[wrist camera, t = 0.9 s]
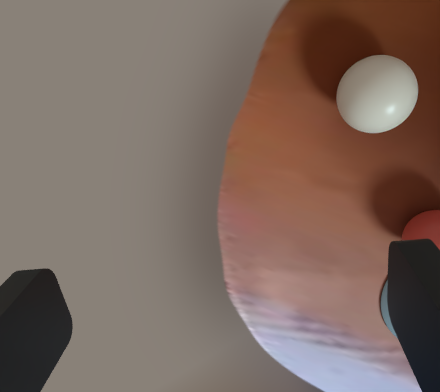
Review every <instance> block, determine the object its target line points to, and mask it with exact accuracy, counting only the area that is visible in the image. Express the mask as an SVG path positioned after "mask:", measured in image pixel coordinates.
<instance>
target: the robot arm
mask: <svg viewBox="0 0 440 392" xmlns="http://www.w3.org/2000/svg"><path fill="white" fill-rule="evenodd" d="M387 304H388V311H389V316H390V320H391V323H392V326H393V329H394V331H395V333H396V335H397V337H398V340H399V342H400V344H401V346H402V348H403V351H404V353H405V355H406V357H407V359H408V362H409V364H410V366H411V368H412V370H413V373H414V375H415V377H416V379H417V381H418V384H419V386H420V388H421V390H422V392H440V250H439V249H438V247H437V246H436V245H435V244H434V242H433V241H432V240H430V239H428V238H427V239H415V240H402V241H392V242H391V243H390V246H389V256H388V286H387ZM71 335H72V318H71V315H70V312H69V310H68V307H67V305H66V302H65V299H64V297H63V294H62V292H61V289H60V287H59V284H58V281H57V279H56V276H55V274H54V273H53V272H52V271H51V270H50V269H34V270H22V271H16V272H14V273H13V274H12V275H11V276H10V277H9V278H8V279H7V280H6V281H5V282H4V283H3V284H2V285H1V286H0V392H40V391H41V390H42V388H43V386H44V384H45V383H46V381H47V379H48V378H49V376H50V374H51V372H52V371H53V369H54V367H55V366H56V364H57V362H58V361H59V359H60V357H61V355H62V354H63V352H64V350H65V349H66V347H67V345H68V343H69V341H70V338H71Z"/></svg>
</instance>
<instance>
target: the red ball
mask: <svg viewBox="0 0 440 392" xmlns="http://www.w3.org/2000/svg"><path fill="white" fill-rule="evenodd" d="M427 238H428V239H430V240H432V241H433V242H434V244H435V245H436V246H437V247H438V249H439V250H440V210H430V211H425V212H422V213H420V214H418V215H416V216H415V217H413V218H412V219H411V220H410V221H409V222H408V223H407V225H406V226H405V228H404V230H403V233H402V240H415V239H427ZM402 240H401V241H402Z"/></svg>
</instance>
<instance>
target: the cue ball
mask: <svg viewBox="0 0 440 392" xmlns="http://www.w3.org/2000/svg"><path fill="white" fill-rule="evenodd" d="M417 97H418V84H417V79H416V77H415V74H414V73H413V71H412V70H411V68H410V67H409V66H408V65H407V64H406V63H405V62H403V61H402V60H400V59H398V58H395V57H393V56H389V55H374V56H370V57H366V58H364V59H362V60H360V61H358V62H356V63H355V64H354V65H352V66H351V67H350V68H349V69H348V70H347V71H346V72H345V74H344V75H343V77H342V78H341V80H340V83H339V85H338V89H337V96H336V101H337V107H338V110H339V112H340V114H341V116H342V118H343V119H344V120H345V121H346V123H347V124H349V125H350V126H351V127H353V128H355V129H356V130H359V131H362V132H366V133H381V132H385V131H388V130H391V129H393V128H395V127H397V126H398V125H400V124H401V123H402V122H403V121H405V119H406V118H407V117H408V116H409V115H410V114H411V112H412V110H413V109H414V106H415V104H416V101H417Z"/></svg>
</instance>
